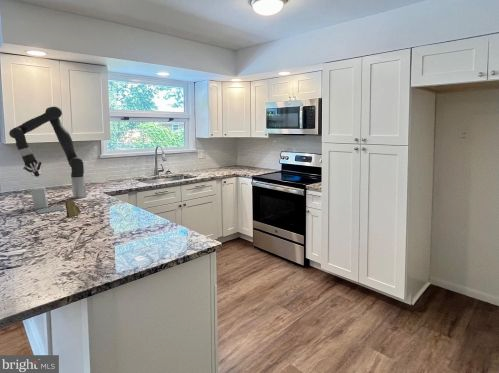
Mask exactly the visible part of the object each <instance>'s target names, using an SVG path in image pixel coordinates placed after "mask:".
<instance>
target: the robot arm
mask: <svg viewBox="0 0 499 373" xmlns="http://www.w3.org/2000/svg"><path fill="white" fill-rule="evenodd" d="M62 115H63V111H62V109H61V108H60V107H59V106H50V107H47V108H46V109H45V112H44V113H43V114H40V115H38V116H36V117H33V118H31V119H29V120H27V121H25V122H23V123H21V124H20V125H18V126H16V127H13V128H12V129H10V131H9V132H8V134H9V137H10V138H12V139H14V140H15V146H16V148H17V150H18V152H19V155H20V157H21V159H22V161H23V162H24V167H22V169H23V170H24V171H27V172H29V173H33V175H34V176H35V177H40V173H39V170H40V169H41V167H42V162H41V161H38V160H37V159H36V157H35V155H34V153H33V151H32V149H31V148H30V146H29V144H28V142H27V138H26V135H25V134H28V133H29V132H32V131H33V130H35V129H37V128H39V127H41V126H42V125H44V124H46V123H48V122H49V123H50V124H51V127H52V128H53V131H54V133H55V135H56V137H57V140H58V142H59V144H60V146H61V148H62V150H63V152H64V154H65V156H66V159H67V162H68V165H69V167H71V169H70V170H71V173H70V176H71V178H70V179H71V188H72V189H71V190H72V197H73V198H74V199H81V198H85V197H86V198H87V190H86V184H85V177H84V174H85V170H84V169H85V167H84V162H83V159H81V158H80V157H79V156H78V154H77V153H76V151H75V148H74V141H73V139H72V137H71V134H70V133H69V131H68V130H67V129H66V127H65V126H64V125H63V124H62V122H61V120H60V118H61V117H62Z"/></svg>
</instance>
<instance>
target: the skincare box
mask: <svg viewBox="0 0 499 373" xmlns="http://www.w3.org/2000/svg"><path fill="white" fill-rule="evenodd" d="M30 192H31V197H32V203H33V207H34V210H35V209H42V208H49V207H48V206H49V204H48V199H47V192H46V187H45V186H40V187H39V186H38V187H32V188H31V189H30Z"/></svg>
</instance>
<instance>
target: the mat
mask: <svg viewBox="0 0 499 373" xmlns="http://www.w3.org/2000/svg"><path fill="white" fill-rule="evenodd" d="M65 210H66V209H65V208H63V207H62V206H60V205H57V206H50V207H47V208H39V209H34V212H36V213H37V214H38V215H41V214H47V213H48V214H49V213H54V212H61V211H65Z"/></svg>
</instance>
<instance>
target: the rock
mask: <svg viewBox="0 0 499 373" xmlns="http://www.w3.org/2000/svg"><path fill="white" fill-rule="evenodd" d="M64 203H65V208H66V209H65V210H66V216H67V217H68V218H71V217H74V216H77V215H79V214H81V210H80V207H79V206H77V204H76V202H75V201H71V200H66V201H65V202H64Z"/></svg>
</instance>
